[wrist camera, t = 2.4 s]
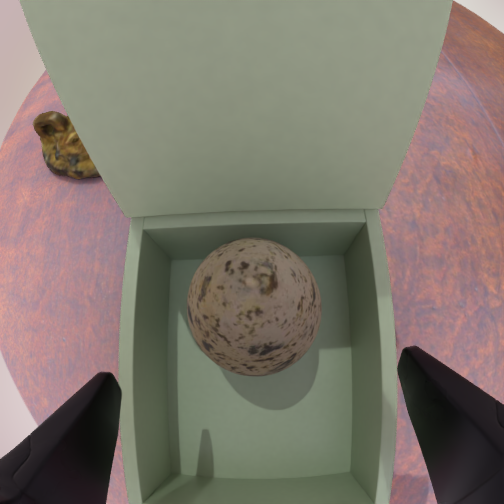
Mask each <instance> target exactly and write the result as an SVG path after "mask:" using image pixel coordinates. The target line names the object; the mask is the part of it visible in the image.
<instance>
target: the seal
mask: <svg viewBox="0 0 504 504" xmlns="http://www.w3.org/2000/svg"><path fill="white" fill-rule="evenodd" d="M33 126H34V129H35V131H36V133H37V134H38V135H39V136H40V140H41V143H42V151H43V157H44V160H45V163H46V165H47V166H48V168H50V170H51V171H52V172H53V173H55V174H57V175H66V176H70V177H73V178H75V179H81V178H88V177H97V176H101V175H100V174H99V172H98V170H97V168H96V167H95V165H94V163H93V161H92V160H91V158H90V156H89V154H88V152H87V151H86V149H85V147H84V145H83V143H82V141H81V139H80V138H79V136H78V134H77V132H76V130H75V128H74V126H73V124H72V122H71V120H70V118H69V116H67V117H66V116H65V115H63V114H61V113H59V112H55V111H50V112H46V113H42V114H40V115H38V116H37V117H36V118H35V119H34V122H33Z"/></svg>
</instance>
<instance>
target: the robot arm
mask: <svg viewBox="0 0 504 504" xmlns="http://www.w3.org/2000/svg"><path fill="white" fill-rule="evenodd" d="M397 371H398V375H399V379H400V383H401V387H402V390H403V394H404V398H405V402H406V406H407V410H408V413H409V416H410V419H411V422H412V425H413V427H414V430H415V433H416V436H417V439H418V442H419V445H420V448H421V451H422V454H423V457H424V460H425V463H426V466H427V469H428V472H429V476H430V479H431V482H432V486H433V489H434V493H435V496H436V500H437V504H504V405H503V404H502V403H500V402H499V401H498V400H496V399H495V398H493V397H492V396H490V395H489V394H487V393H486V392H484V391H483V390H481V389H480V388H478V387H477V386H475V385H474V384H473V383H471V382H470V381H468V380H467V379H465V378H464V377H462V376H461V375H459V374H458V373H456V372H455V371H453V370H452V369H450V368H449V367H447V366H446V365H444V364H443V363H441V362H440V361H438V360H437V359H435V358H434V357H432V356H431V355H429V354H428V353H426V352H425V351H423V350H422V349H420V348H419V347H417V346H410V347H406V348H404V349H403V350H402V353H401V357H400V360H399V363H398V367H397ZM121 400H122V390H121V387H120V386H119V384H118V382H117V380H116V379H115V377H114V375H113V374H112V373H111V372H99V373H98V374H96V375H95V376H94V377H93V378H92V379H91V380H90V381H89V382H87V383H86V384H85V385H84V386H83V387H82V388H81V389H80V390H79V391H77V392H76V393H75V394H74V395H73V396H72V397H71V398H70V399H68V400H67V401H66V402H65V403H64V404H63V405H62V406H61V407H60V408H58V409H57V410H56V411H55V412H54V413H53V414H52V415H51V416H50V417H48V418H47V419H46V420H45V421H44V422H43V423H42V424H41V425H40V426H39V427H37V428H36V429H35V430H34V431H33V432H32V433H31V434H30V435H29V436H28V437H26V438H25V439H24V440H23V441H22V442H21V443H20V444H18V445H17V446H16V447H15V448H14V449H13V450H11V451H10V452H9V453H7V454H6V455H5V456H4V457H2V458H1V459H0V504H106V500H107V493H108V487H109V480H110V474H111V468H112V463H113V457H114V452H115V447H116V442H117V436H118V429H119V419H120V409H121Z"/></svg>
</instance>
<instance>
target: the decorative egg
mask: <svg viewBox="0 0 504 504" xmlns="http://www.w3.org/2000/svg"><path fill="white" fill-rule="evenodd" d="M321 315H322V304H321V296H320V291H319V288H318V285H317V282H316V280H315V278H314V276H313V274H312V272H311V271H310V269H309V268H308V266H307V265H306V264H305V263H304V261H303V260H302V259H301V258H300V257H299V256H298V255H296V254H295V253H294V252H293V251H291V250H290V249H289V248H287V247H286V246H284V245H282V244H280V243H277V242H275V241H272V240H268V239H264V238H242V239H237V240H233V241H230V242H228V243H226V244H224V245H222V246H220V247H218V248H217V249H215V250H214V251H213V252H211V253H210V254H209V255H208V256H207V257H206V258H205V259H204V260H203V262H202V263H201V264H200V266H199V267H198V269H197V270H196V272H195V274H194V276H193V278H192V281H191V284H190V287H189V291H188V297H187V316H188V322H189V326H190V329H191V332H192V334H193V337H194V339H195V341H196V342H197V344H198V346H199V347H200V348H201V350H202V351H203V352H204V353H205V354H206V356H207V357H209V358H210V359H211V360H212V361H213V362H214V363H216V364H217V365H219V366H220V367H222V368H224V369H226V370H228V371H230V372H233V373H235V374H239V375H244V376H266V375H271V374H275V373H278V372H280V371H283V370H285V369H287V368H289V367H290V366H292V365H293V364H295V363H296V362H297V361H298V360H299V359H301V358H302V356H303V355H304V354H305V353H306V352H307V351H308V349H309V348H310V347H311V345H312V343H313V342H314V340H315V338H316V335H317V333H318V330H319V327H320V322H321Z"/></svg>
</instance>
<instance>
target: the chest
mask: <svg viewBox="0 0 504 504" xmlns="http://www.w3.org/2000/svg"><path fill="white" fill-rule="evenodd" d="M242 238H264V239H268V240H272V241H275V242H277V243H280V244H282V245H284V246H286V247H287V248H289V249H290V250H291V251H293V252H294V253H295V254H296V255H298V256H299V257H300V258H301V259H302V260H303V261H304V263H305V264H306V265H307V266H308V268H309V269H310V271H311V272H312V274H313V276H314V278H315V280H316V282H317V285H318V288H319V291H320V296H321V304H322V315H321V322H320V327H319V330H318V333H317V335H316V338H315V340H314V342H313V343H312V345H311V347H310V348H309V349H308V351H307V352H306V353H305V354H304V355H303V356H302V358H301V359H299V360H298V361H297V362H296V363H295V364H293V365H292V366H290V367H289V368H287V369H285V370H283V371H280V372H278V373H275V374H271V375H266V376H244V375H239V374H235V373H233V372H230V371H228V370H226V369H224V368H222V367H220V366H219V365H217V364H216V363H214V362H213V361H212V360H211V359H210V358H209V357H207V356H206V354H205V353H204V352H203V351H202V350H201V348H200V347H199V346H198V344H197V342H196V341H195V339H194V337H193V334H192V332H191V329H190V326H189V322H188V316H187V297H188V291H189V287H190V284H191V281H192V278H193V276H194V274H195V272H196V270H197V269H198V267H199V266H200V264H201V263H202V262H203V260H204V259H205V258H206V257H207V256H208V255H209V254H210V253H211V252H213V251H214V250H215V249H217V248H218V247H220V246H222V245H224V244H226V243H228V242H230V241H233V240H237V239H242ZM119 386H120V387H121V390H122V400H121V409H120V432H121V445H122V456H123V465H124V474H125V481H126V489H127V495H128V501H129V504H389V501H390V495H391V487H392V479H393V470H394V459H395V446H396V428H397V357H396V338H395V324H394V313H393V303H392V293H391V285H390V277H389V270H388V263H387V256H386V250H385V244H384V238H383V232H382V227H381V222H380V216H379V211H378V209H288V210H254V211H228V212H207V213H189V214H172V215H157V216H143V217H131V223H130V229H129V236H128V243H127V251H126V259H125V268H124V277H123V287H122V299H121V313H120V331H119Z"/></svg>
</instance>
